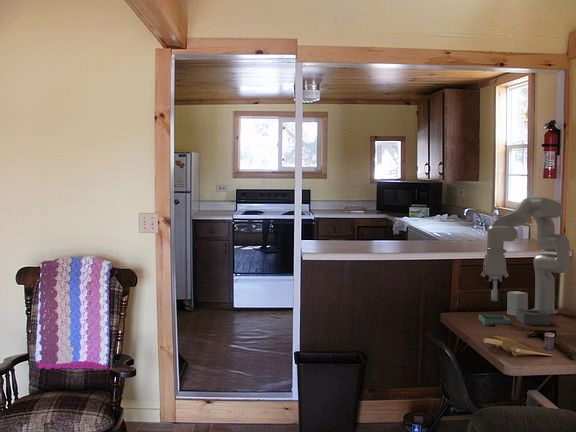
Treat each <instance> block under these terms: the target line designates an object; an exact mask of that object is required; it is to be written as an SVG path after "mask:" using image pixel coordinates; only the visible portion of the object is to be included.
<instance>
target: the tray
mask: <svg viewBox="0 0 576 432" xmlns="http://www.w3.org/2000/svg"><path fill="white" fill-rule="evenodd" d="M479 320H480V321H481V322H482V323H481V322H480V321H479ZM478 321H479V322H480V323H481V324H483V325H484V326H489V325H500V324H501V325H511V324H512V320H511V319H510V318H509V317H507V316H506V315H505V314H478Z"/></svg>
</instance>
